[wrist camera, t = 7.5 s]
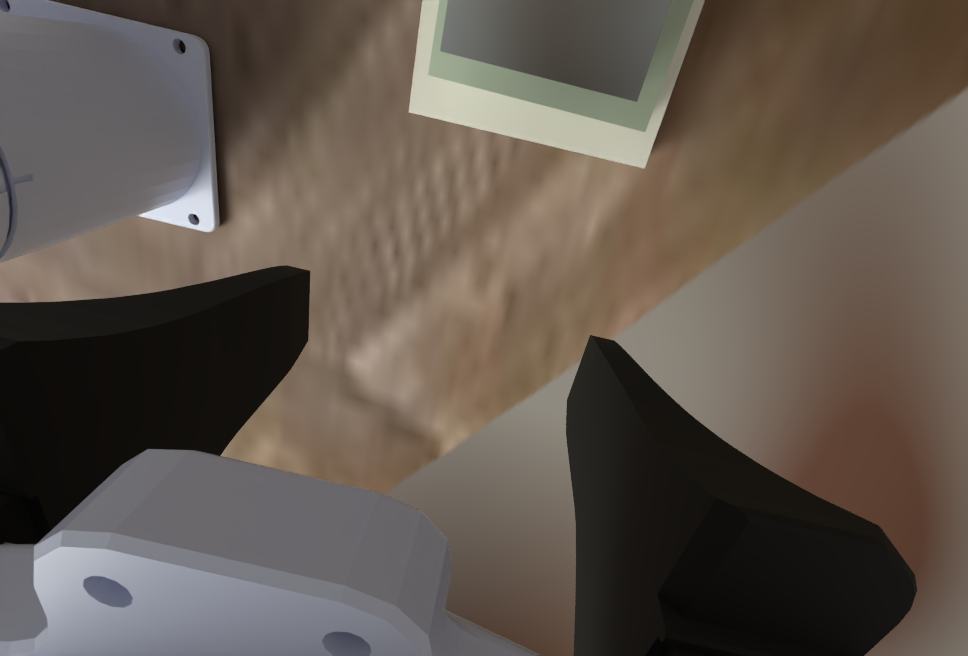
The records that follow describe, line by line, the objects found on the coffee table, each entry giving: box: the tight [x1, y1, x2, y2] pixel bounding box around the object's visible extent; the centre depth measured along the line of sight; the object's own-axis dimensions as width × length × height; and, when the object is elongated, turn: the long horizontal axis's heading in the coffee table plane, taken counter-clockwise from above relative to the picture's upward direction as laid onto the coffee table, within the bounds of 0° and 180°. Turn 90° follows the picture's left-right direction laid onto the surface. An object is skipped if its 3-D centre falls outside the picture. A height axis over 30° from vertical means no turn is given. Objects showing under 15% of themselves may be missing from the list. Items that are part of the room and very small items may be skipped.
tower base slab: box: [409, 0, 705, 168], centre depth 17 cm, size 9×9×2 cm
